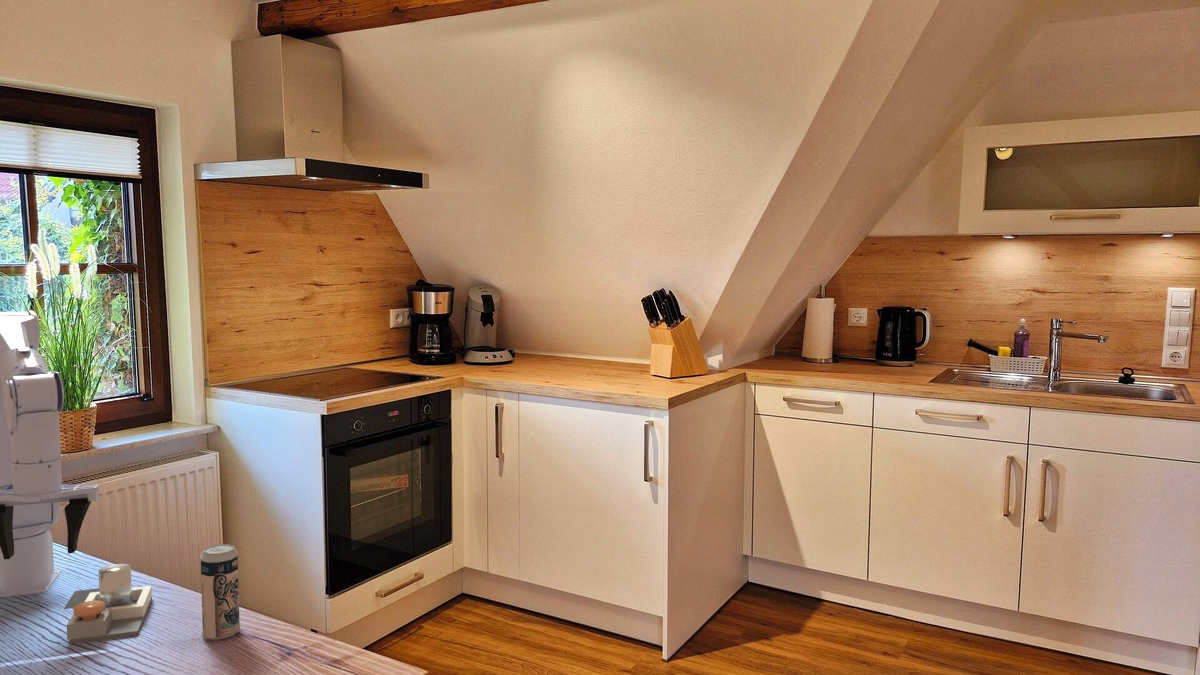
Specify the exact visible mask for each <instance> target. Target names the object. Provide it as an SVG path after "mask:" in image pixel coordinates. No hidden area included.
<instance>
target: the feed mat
mask: <svg viewBox="0 0 1200 675" xmlns="http://www.w3.org/2000/svg"><path fill="white" fill-rule="evenodd" d="M91 592H99V587H98V588H88V589H81V590H74V592H73V593H72V595H71V596H70V598H69V600H67V603H66V604H65V605H64V607H63V609H64V610H65V609H73V608H74V607H75V606H76V605H78V604H80V603H83V602H85V600H86V599H87V597H88V595H89V594H90V593H91Z"/></svg>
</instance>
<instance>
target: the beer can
mask: <svg viewBox="0 0 1200 675" xmlns="http://www.w3.org/2000/svg"><path fill="white" fill-rule="evenodd" d="M238 557H239V552H238V551H237V549H236V547H235V545H232V544H230V543H229V544H222V543H220V544H215V545H210V546H208V547H206V548H204V549H203V550H202V553H201V555H200V557H199V560H200V580H201V583H200V584H201V585H200V586H201V611H202V612H201V614H202V615H201V616H202V622H201V623H202V632H201V635H202V636H203V638H206V639H208V640H212V641H220V640H226V639H229V638H231V637H234V636H235V635H236V634H238V632H239V631H240V630H241V626H240V592H239V590H240V589H239V588H240V586H239V558H238Z"/></svg>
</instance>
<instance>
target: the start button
mask: <svg viewBox="0 0 1200 675" xmlns="http://www.w3.org/2000/svg"><path fill="white" fill-rule="evenodd" d="M72 609H73V610H72V611H73V614H74V616H76V617H83V620H90V619H97V616H96V615H97V614H99V613H101V612H103V611H104V610H105V603H104V602H103V601H98V600H96V601H87V602H83V603H80V604H78V605H76V606H75V607H74V608H72Z"/></svg>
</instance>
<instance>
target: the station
mask: <svg viewBox="0 0 1200 675" xmlns="http://www.w3.org/2000/svg"><path fill="white" fill-rule="evenodd" d="M152 588H153V587H152V585H145V586H136V587H132V605H126V606H118V607H109V608H105V610H104V611H103V612H101V613H99V614H97V615H96V616H97V619H90V620H83V617H76V616H74V613H73V614H72V616H71V617H70V619H69V621H68V622H67V624H66V640H68V641H69V642H68V644H69V645H74V644H75V645H76V644H83V643H91V642H98V641H105V640H106V641H107V640H113V639H121V638H129V637H136V636H137V637H138V636H139V633H140V631H141V629H142V626H143V624H144V621H145V619H146V616H147V614H148V611H149V610H150V609H149V608H150V606H151V603H152V601H153V591H152V590H153V589H152ZM96 600H98V601H100V593H99V592H91V593H90V594H89V595H88V597H87V599H86V600H85V602H87V601H96Z"/></svg>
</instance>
